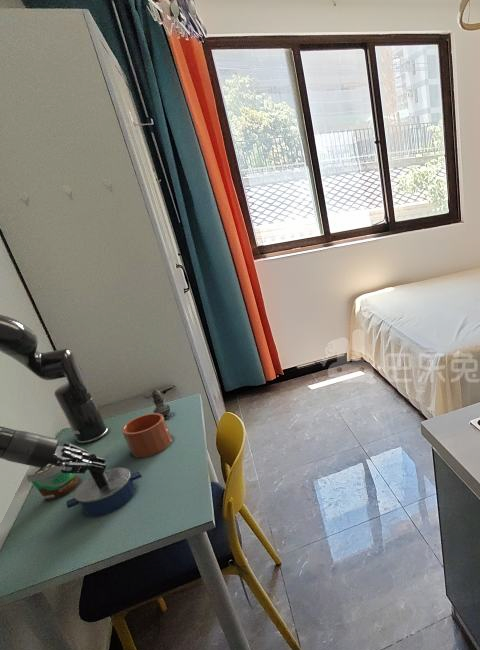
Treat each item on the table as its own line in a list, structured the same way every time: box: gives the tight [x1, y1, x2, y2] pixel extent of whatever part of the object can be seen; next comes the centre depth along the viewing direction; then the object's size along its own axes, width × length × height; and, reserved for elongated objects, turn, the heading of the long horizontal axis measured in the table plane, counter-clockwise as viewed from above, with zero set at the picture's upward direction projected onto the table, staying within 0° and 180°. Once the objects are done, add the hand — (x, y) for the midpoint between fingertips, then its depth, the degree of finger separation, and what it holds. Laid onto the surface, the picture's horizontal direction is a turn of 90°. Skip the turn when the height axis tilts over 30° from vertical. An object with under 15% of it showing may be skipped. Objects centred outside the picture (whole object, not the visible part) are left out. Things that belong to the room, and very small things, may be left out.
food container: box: [26, 464, 80, 501], centre depth 129 cm, size 12×6×10 cm, turn 168°
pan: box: [66, 470, 142, 517], centre depth 124 cm, size 13×18×5 cm
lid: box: [73, 453, 132, 503], centre depth 121 cm, size 14×14×10 cm
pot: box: [121, 412, 173, 458], centre depth 146 cm, size 12×12×9 cm
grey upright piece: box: [151, 388, 174, 421], centre depth 162 cm, size 6×6×12 cm
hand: (104, 465), depth 121 cm, fingers closed on lid, 3 cm apart
